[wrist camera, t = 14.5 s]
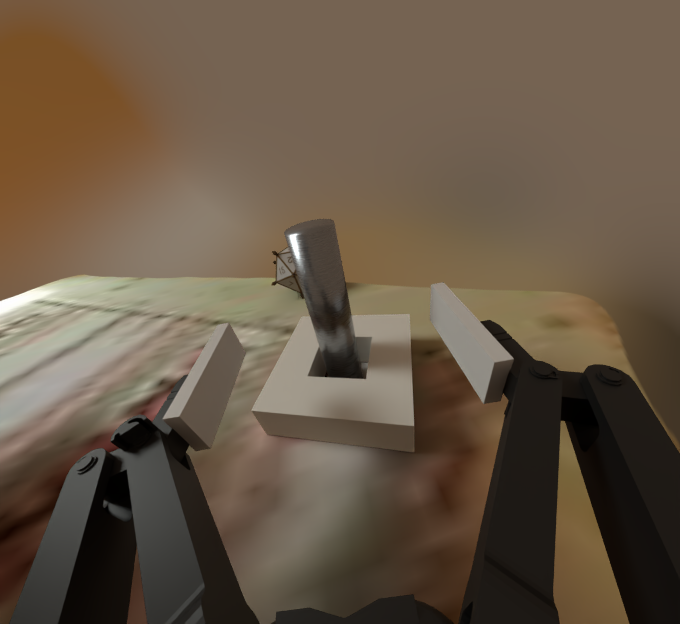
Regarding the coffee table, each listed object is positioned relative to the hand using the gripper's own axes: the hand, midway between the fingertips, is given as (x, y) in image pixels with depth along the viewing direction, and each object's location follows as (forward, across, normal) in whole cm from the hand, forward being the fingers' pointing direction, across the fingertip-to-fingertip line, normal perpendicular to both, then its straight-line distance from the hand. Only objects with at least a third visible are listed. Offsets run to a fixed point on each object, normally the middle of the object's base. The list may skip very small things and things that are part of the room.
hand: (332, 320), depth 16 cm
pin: (+3, 0, -10) cm, 10 cm away
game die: (+24, -6, -10) cm, 26 cm away
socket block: (+3, 0, -10) cm, 10 cm away
